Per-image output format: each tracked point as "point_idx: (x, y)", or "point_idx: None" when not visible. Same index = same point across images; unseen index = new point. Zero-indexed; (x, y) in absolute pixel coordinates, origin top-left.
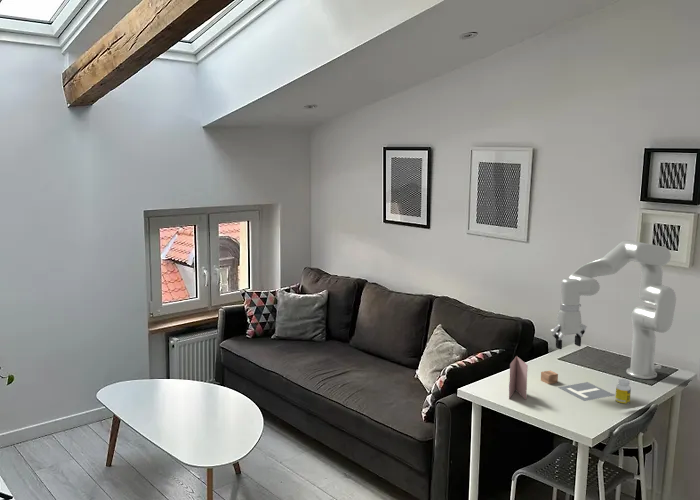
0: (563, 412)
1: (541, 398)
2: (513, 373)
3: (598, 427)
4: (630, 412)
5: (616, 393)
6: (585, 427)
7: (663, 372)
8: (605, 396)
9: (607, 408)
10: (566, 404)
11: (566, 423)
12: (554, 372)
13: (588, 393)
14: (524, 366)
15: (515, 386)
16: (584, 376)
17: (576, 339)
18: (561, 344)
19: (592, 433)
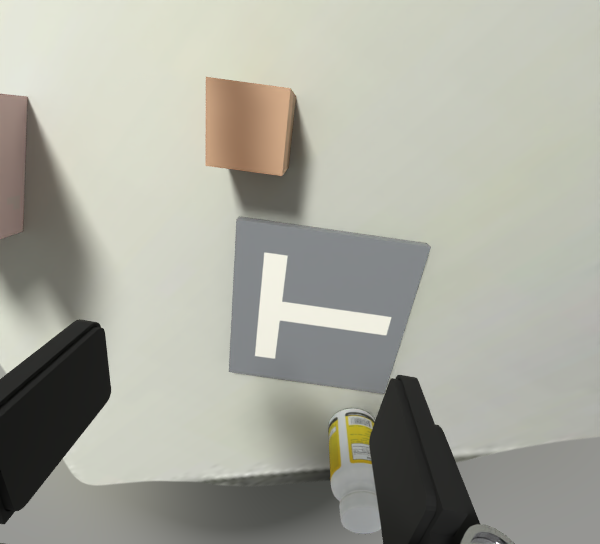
0: None
1: (100, 252)
2: None
3: (142, 471)
4: (310, 465)
5: (333, 450)
6: (107, 457)
7: None
8: (339, 384)
9: (271, 421)
10: (162, 339)
11: None
12: (283, 140)
13: (306, 336)
14: None
15: (7, 97)
16: (532, 152)
17: (400, 476)
18: (56, 451)
19: (102, 480)
